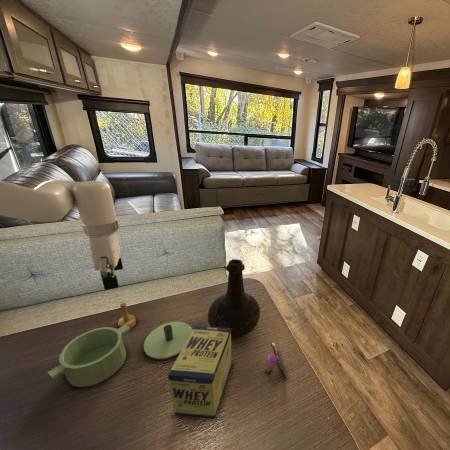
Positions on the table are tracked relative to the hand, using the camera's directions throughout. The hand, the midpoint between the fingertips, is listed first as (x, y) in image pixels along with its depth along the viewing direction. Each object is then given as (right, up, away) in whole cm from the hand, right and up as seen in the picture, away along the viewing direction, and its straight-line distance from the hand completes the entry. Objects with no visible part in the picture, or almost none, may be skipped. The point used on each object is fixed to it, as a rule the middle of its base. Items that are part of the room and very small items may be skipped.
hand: (114, 278), depth 74 cm
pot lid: (+12, -22, +8) cm, 27 cm away
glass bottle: (+32, -21, +16) cm, 42 cm away
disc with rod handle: (-5, -19, +13) cm, 23 cm away
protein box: (+29, -30, -5) cm, 42 cm away
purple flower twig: (+48, -29, +3) cm, 56 cm away
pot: (-4, -25, -1) cm, 25 cm away
